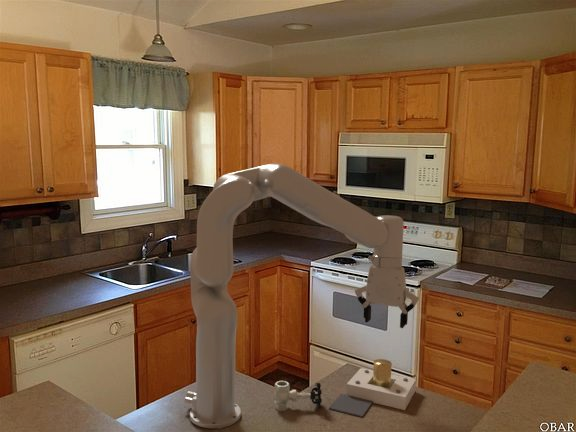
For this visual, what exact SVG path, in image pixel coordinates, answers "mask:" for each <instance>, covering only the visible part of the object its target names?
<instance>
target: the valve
mask: <svg viewBox="0 0 576 432" xmlns="http://www.w3.org/2000/svg"><path fill="white" fill-rule="evenodd" d="M321 386H322V385H321V383H320V382H315V385H314V387H313V388H311V391H309V393H307V392H306V391H301V392H298V391H297V389H291V390H290V382H288V381H286V380H279V381H276V382H274V392H273V399H274V403H273V404H274V405H273V408H274V409H275V410H277V411H278V412H283V411H284V412H285V411H287V410H288V409H289V408H290V401H291V402H293V403H295V402H297V400H299V399H300V400H307V399H308V398H310V399H309V400H311V402H312V403H313V404H315V408H316V409H317V410H318V409H319V410H320V409H322V404H321V403H322V401H323V400H322V394H323V393H322V389H321Z"/></svg>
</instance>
